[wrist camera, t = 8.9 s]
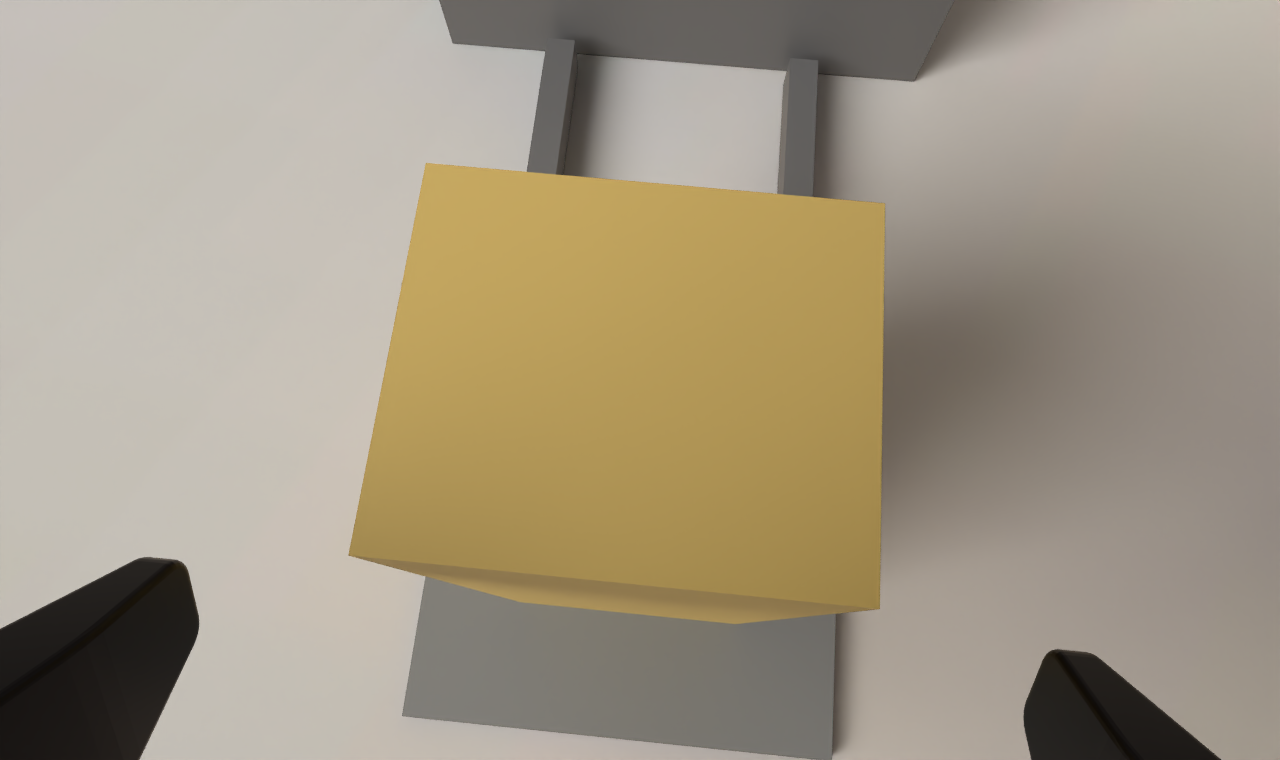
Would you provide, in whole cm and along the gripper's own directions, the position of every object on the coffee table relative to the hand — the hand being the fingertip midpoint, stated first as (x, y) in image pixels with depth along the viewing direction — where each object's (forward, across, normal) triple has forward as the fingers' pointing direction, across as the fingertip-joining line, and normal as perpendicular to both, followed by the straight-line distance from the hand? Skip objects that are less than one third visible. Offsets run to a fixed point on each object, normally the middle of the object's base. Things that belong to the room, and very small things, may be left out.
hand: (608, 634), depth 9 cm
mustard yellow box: (+10, 0, +6) cm, 12 cm away
